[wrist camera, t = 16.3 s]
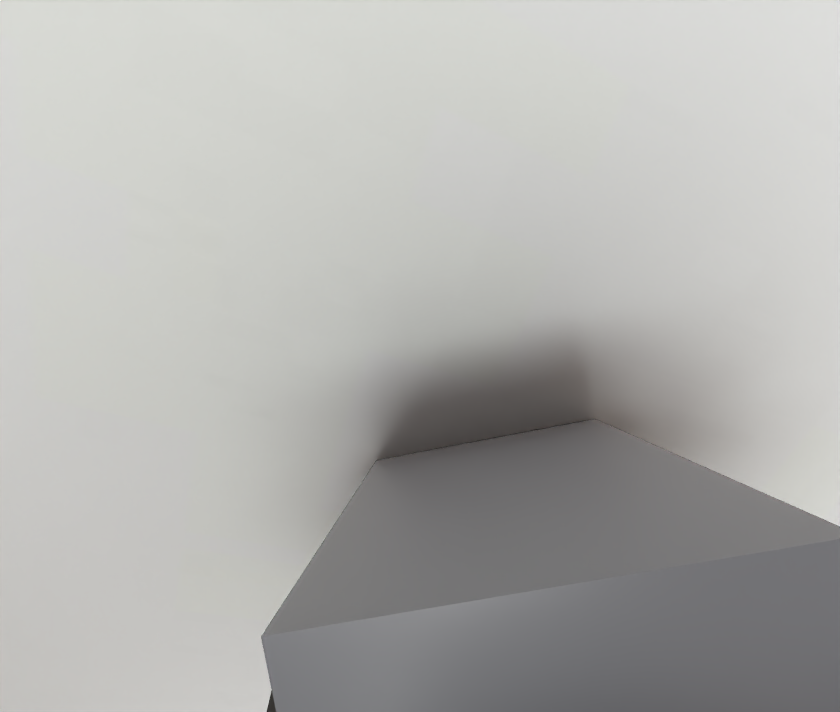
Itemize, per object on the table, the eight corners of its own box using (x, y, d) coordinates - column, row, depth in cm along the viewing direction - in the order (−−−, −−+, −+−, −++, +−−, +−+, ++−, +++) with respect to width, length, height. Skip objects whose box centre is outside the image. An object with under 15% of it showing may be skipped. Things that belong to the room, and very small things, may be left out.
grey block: (419, 675, 14) (374, 1209, 5) (376, 460, 14) (260, 636, 5) (640, 640, 14) (988, 1155, 5) (595, 418, 14) (859, 534, 5)
